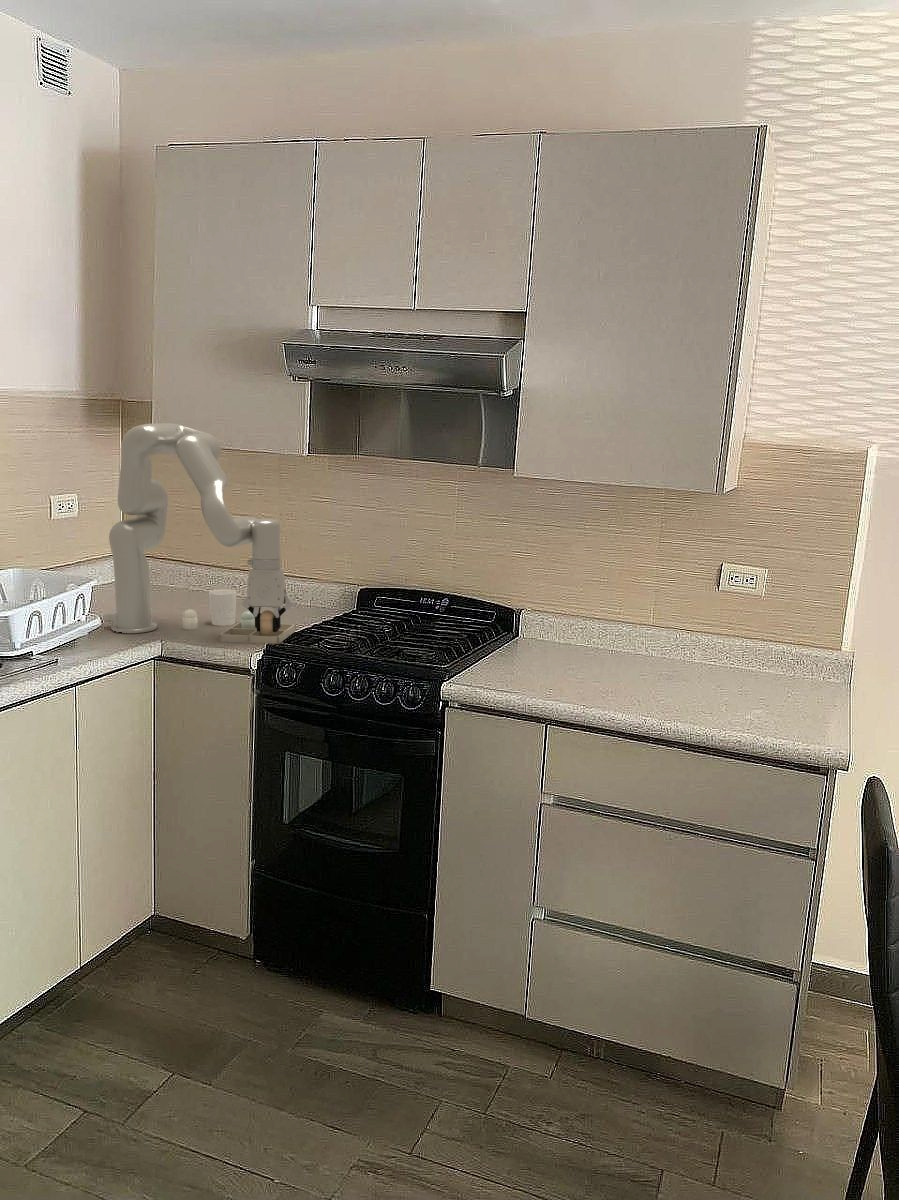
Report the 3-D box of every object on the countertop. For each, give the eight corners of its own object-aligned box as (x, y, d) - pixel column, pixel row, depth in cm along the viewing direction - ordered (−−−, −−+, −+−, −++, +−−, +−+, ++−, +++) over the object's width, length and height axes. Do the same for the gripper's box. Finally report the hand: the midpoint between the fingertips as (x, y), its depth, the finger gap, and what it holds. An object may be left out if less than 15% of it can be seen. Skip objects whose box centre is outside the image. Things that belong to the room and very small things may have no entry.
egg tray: (219, 643, 287) (218, 634, 286) (239, 630, 303) (238, 621, 303) (279, 645, 285) (278, 637, 284) (295, 632, 301) (295, 624, 301)
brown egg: (258, 633, 287) (257, 611, 286) (262, 630, 291) (262, 608, 290) (273, 634, 287) (272, 612, 286) (277, 630, 291) (277, 609, 290)
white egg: (180, 631, 301) (179, 610, 300) (186, 628, 305) (185, 607, 304) (194, 632, 300) (194, 611, 299) (200, 628, 304) (199, 608, 303)
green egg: (239, 633, 297) (238, 612, 295) (244, 630, 301) (243, 609, 300) (253, 633, 296) (253, 612, 295) (258, 630, 300) (257, 609, 299)
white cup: (222, 629, 304) (221, 595, 302) (204, 625, 309) (202, 592, 307) (242, 625, 310) (241, 591, 308) (224, 621, 315) (223, 588, 313)
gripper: (232, 565, 283) (233, 632, 286) (292, 567, 281) (293, 634, 284) (241, 561, 290) (242, 626, 294) (300, 563, 288) (301, 629, 292)
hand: (267, 629), depth 289 cm, fingers closed on brown egg, 4 cm apart
